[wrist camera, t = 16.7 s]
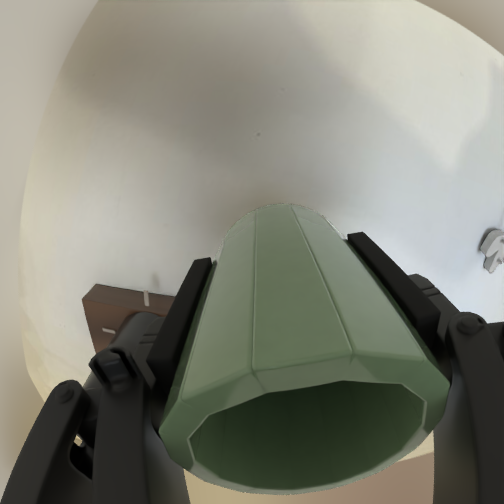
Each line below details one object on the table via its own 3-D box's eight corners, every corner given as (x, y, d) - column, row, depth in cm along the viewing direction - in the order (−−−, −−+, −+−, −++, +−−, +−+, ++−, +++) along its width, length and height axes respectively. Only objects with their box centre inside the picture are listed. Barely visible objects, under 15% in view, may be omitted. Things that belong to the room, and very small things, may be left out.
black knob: (147, 368, 25) (117, 442, 16) (109, 323, 23) (63, 394, 14) (195, 353, 24) (174, 439, 15) (157, 302, 22) (112, 385, 13)
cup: (201, 217, 12) (101, 372, 4) (342, 193, 11) (488, 309, 3) (231, 329, 14) (210, 497, 6) (349, 310, 14) (412, 466, 5)
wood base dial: (92, 264, 24) (76, 279, 21) (234, 283, 24) (231, 302, 21) (124, 396, 32) (116, 413, 29) (224, 415, 32) (222, 434, 29)
